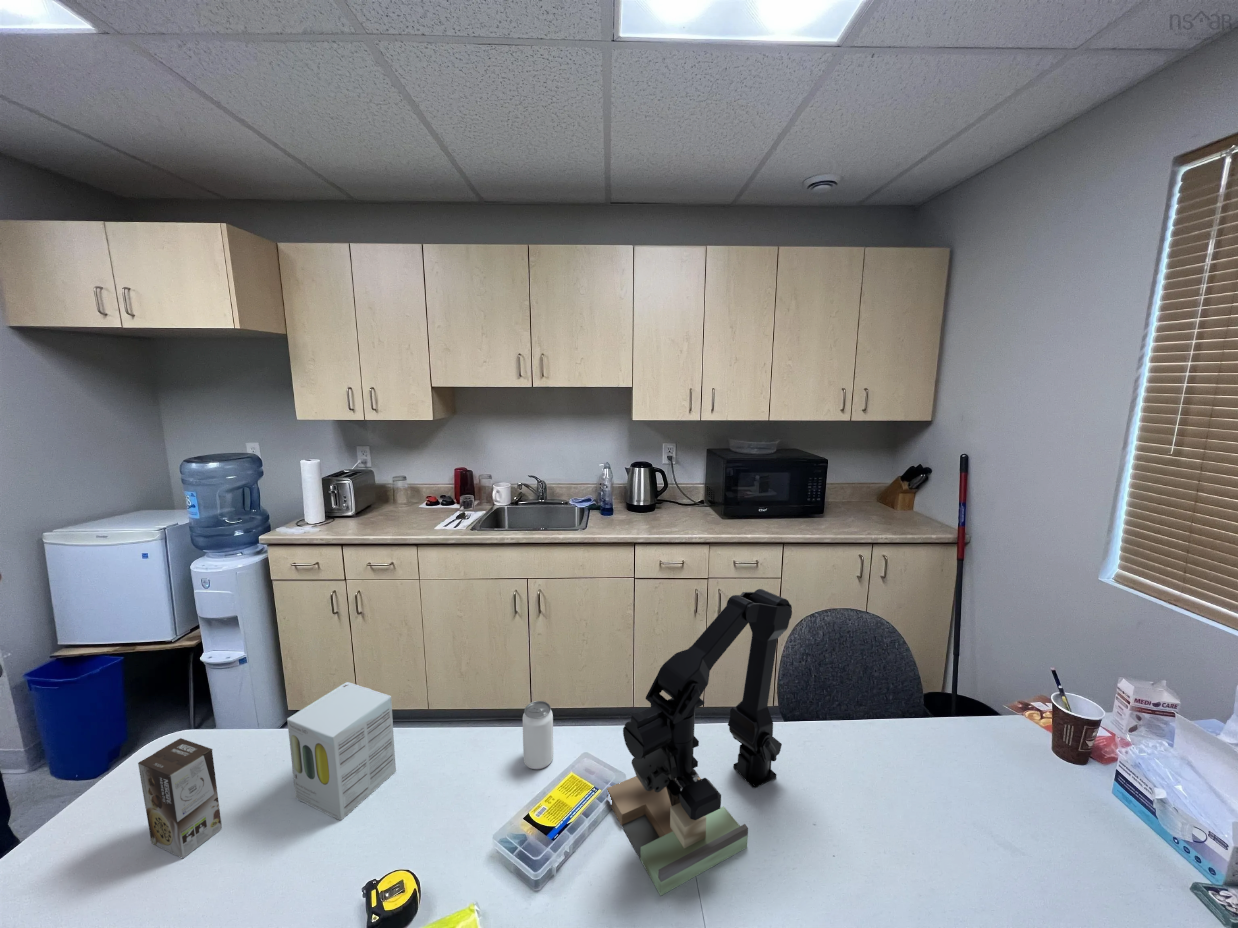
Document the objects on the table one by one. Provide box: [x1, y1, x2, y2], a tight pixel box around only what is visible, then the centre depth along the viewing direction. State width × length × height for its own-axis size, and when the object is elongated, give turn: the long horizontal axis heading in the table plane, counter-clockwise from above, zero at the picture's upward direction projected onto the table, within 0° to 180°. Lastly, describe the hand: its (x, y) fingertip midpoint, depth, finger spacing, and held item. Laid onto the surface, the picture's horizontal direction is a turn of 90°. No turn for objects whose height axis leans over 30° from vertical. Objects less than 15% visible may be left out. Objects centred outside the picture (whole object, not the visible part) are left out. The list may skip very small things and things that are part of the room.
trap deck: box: [606, 776, 749, 896], centre depth 86 cm, size 20×18×4 cm
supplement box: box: [286, 681, 397, 821], centre depth 93 cm, size 13×13×18 cm
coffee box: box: [137, 737, 223, 859], centre depth 82 cm, size 9×6×16 cm
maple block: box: [670, 803, 706, 848], centre depth 82 cm, size 4×4×4 cm
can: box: [522, 700, 554, 770], centre depth 101 cm, size 6×6×12 cm
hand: (675, 808), depth 85 cm, fingers closed
